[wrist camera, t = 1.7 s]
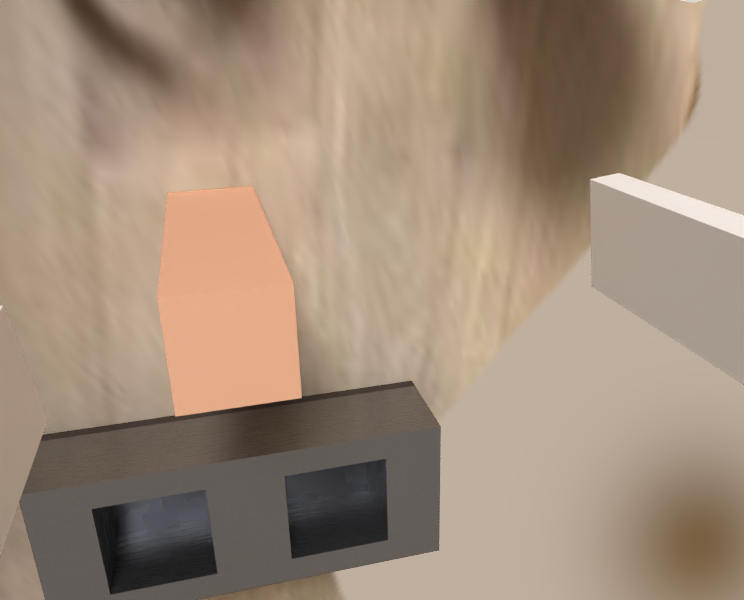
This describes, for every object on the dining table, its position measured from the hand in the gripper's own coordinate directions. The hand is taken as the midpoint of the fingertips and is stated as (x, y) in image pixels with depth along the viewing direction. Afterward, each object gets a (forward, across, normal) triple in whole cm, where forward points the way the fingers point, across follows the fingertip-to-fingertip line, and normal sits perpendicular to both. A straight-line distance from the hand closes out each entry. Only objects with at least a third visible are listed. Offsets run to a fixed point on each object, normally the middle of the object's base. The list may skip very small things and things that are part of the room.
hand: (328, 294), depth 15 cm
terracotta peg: (+20, -3, -3) cm, 20 cm away
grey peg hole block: (+20, -4, -17) cm, 26 cm away
